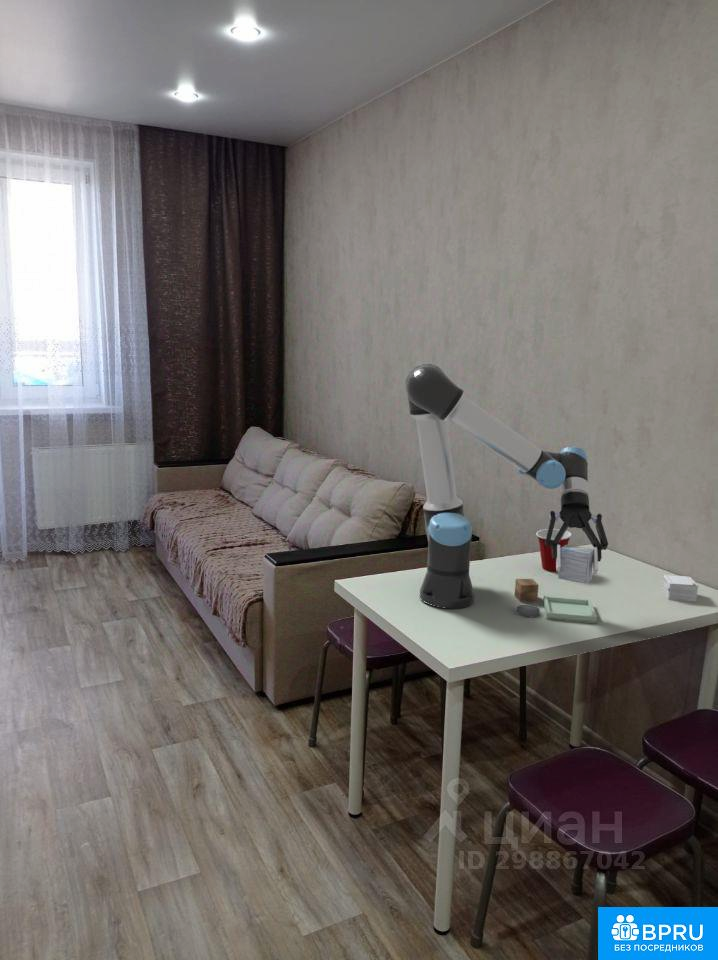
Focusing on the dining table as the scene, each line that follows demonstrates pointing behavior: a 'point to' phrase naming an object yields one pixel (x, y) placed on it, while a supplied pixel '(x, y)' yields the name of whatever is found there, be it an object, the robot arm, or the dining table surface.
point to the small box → (680, 588)
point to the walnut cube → (526, 590)
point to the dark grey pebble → (528, 610)
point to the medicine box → (576, 564)
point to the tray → (569, 609)
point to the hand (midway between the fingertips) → (577, 570)
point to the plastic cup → (546, 551)
